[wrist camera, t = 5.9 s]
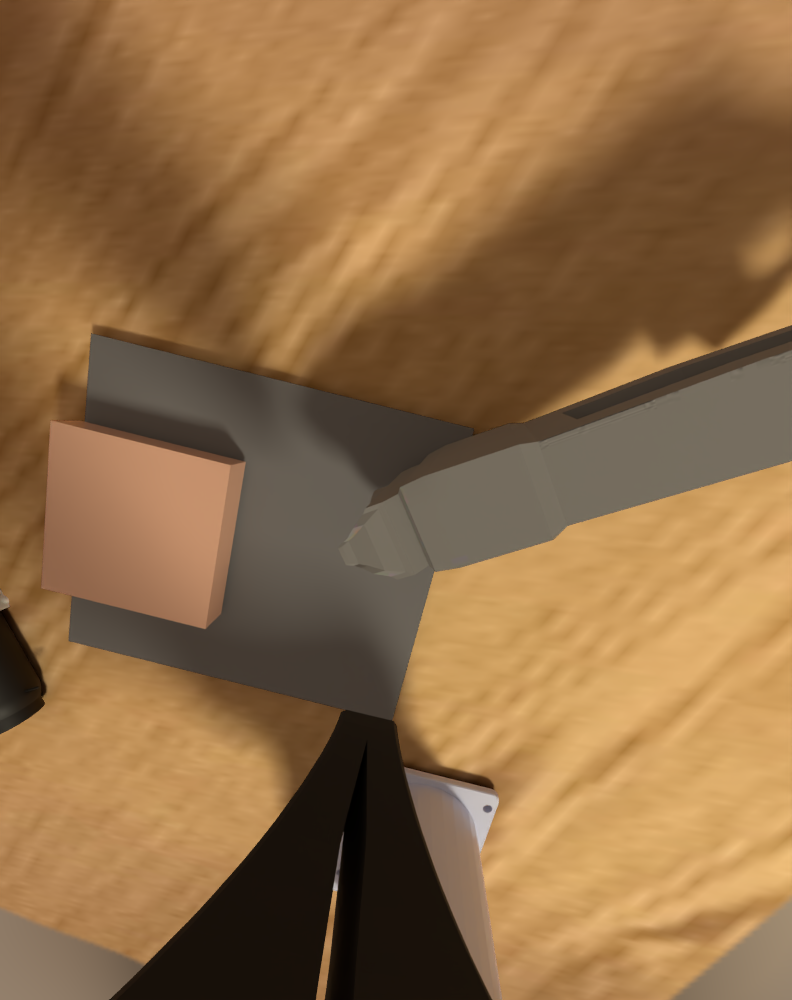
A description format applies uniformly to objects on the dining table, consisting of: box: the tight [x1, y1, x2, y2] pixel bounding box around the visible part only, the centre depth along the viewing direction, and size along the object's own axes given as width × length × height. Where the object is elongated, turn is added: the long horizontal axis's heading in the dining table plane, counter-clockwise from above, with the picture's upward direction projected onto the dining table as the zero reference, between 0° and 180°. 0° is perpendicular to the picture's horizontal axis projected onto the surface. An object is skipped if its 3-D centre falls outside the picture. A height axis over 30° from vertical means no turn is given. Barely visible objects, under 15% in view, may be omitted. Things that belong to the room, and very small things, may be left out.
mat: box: [69, 333, 474, 720], centre depth 19 cm, size 16×18×1 cm
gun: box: [338, 325, 792, 580], centre depth 14 cm, size 3×25×15 cm, turn 113°
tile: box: [41, 420, 246, 629], centre depth 18 cm, size 8×2×8 cm
